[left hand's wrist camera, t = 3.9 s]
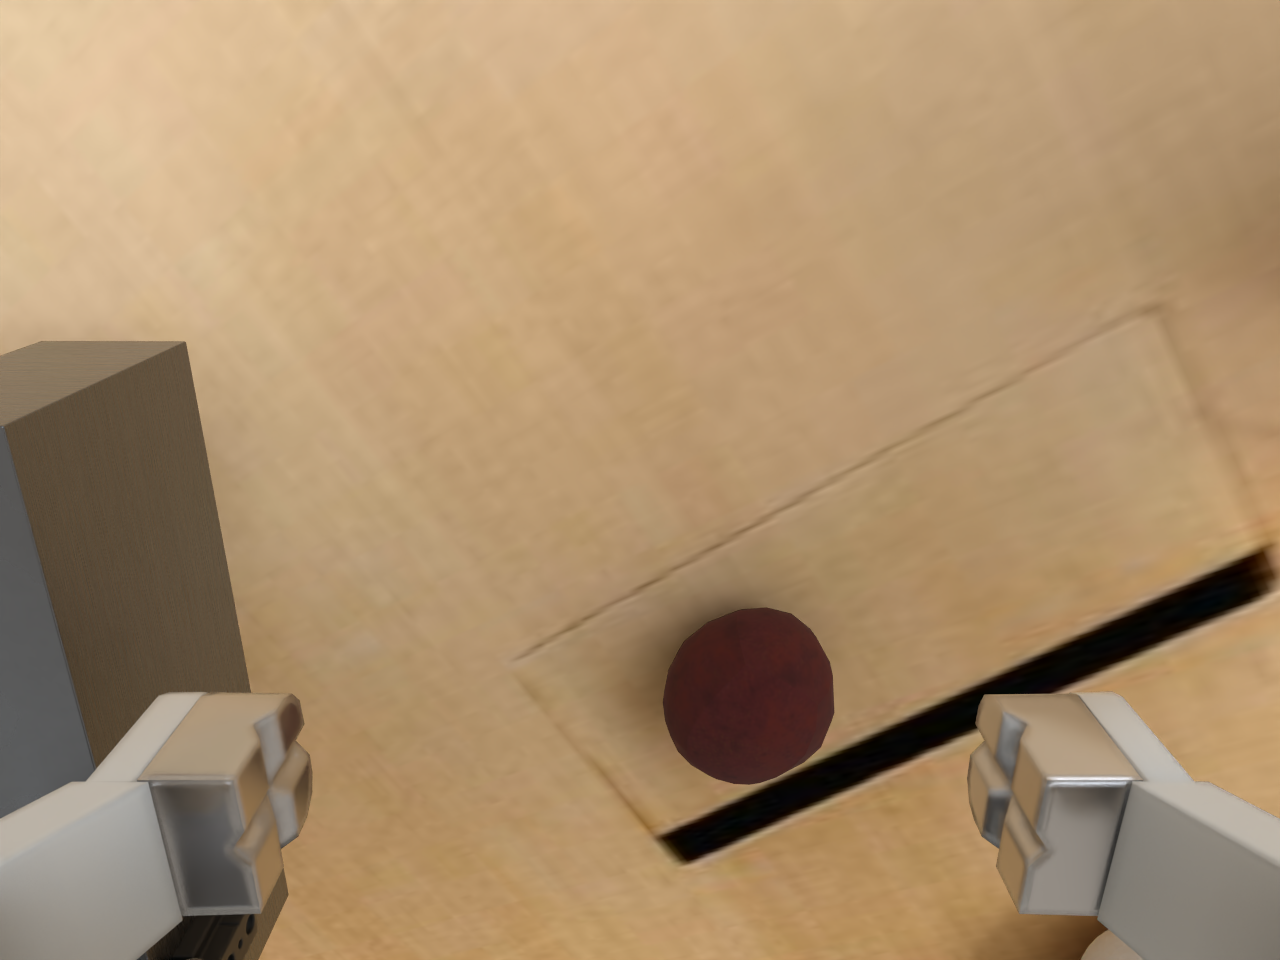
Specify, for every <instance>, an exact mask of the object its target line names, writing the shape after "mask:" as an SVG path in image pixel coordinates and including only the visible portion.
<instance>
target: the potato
mask: <svg viewBox="0 0 1280 960" xmlns="http://www.w3.org/2000/svg"><path fill="white" fill-rule="evenodd" d="M663 707H664V715H665V722H666V724H667V727H668V730H669V733H670V736H671V738H672V740H673V742H674V744H675V746H676V748H677V750H678V752H679V753H680V754H681V755H682V756H683V757H684V758H685V759H686V760H687V761H688V762H689V763H690V764H691V765H692V766H694V767H696V768H697V769H699V770H701V771H702V772H704V773H706V774H707V775H709V776H711V777H713V778H716V779H718V780H722V781H726V782H730V783H733V784H748V785H749V784H755V783H761V782H764V781H767V780H770V779H773V778H775V777H778V776H779V775H781V774H783V773H785V772H787V771H789V770H790V769H792V768H794V767H796V766H798V765H800V764H802V763H803V762H805V761H806V760H807V759H808V758H809V757H810V756H811V755H813V754H814V753H815V752H816V751H817V750H818V749H819V748H820V747H821V745H822V743H823V741H824V738H825V736H826V733H827V731H828V728H829V726H830V723H831V721H832V718H833V715H834V695H833V675H832V670H831V666H830V662H829V660H828V658H827V656H826V654H825V652H824V651H823V649H822V647H821V645H820V643H819V642H818V640H817V638H816V636H815V635H814V634H813V632H812V631H811V629H810V628H808V627H807V626H806V625H805V624H803V623H802V622H801V621H800V620H798V619H797V618H796V617H795V616H793V615H792V614H790V613H786V612H782V611H778V610H774V609H770V608H755V609H742V610H738V611H735V612H733V613H730V614H728V615H725V616H723V617H720V618H718V619H715V620H712V621H710V622H708V623H706V624H705V625H704V626H703V627H701V628H700V629H699V630H698V631H696V632H695V633H694V634H693V635H691V636H690V637H689V638H688V639H686V640H685V641H684V642H683V644H682V646H681V647H680V649H679V651H678V653H677V655H676V657H675V659H674V661H673V662H672V664H671V666H670V668H669V670H668V675H667V680H666V685H665V691H664V698H663Z"/></svg>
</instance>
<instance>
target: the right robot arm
mask: <svg viewBox="0 0 1280 960" xmlns="http://www.w3.org/2000/svg"><path fill="white" fill-rule="evenodd" d="M257 921H258V919H257V914H233V915H198V916H195V918H194V919H193V921H192V923H191V925H190V926H189V928H188V930H187V932H186V933H185V935H184V937H183V939H182V940H181V942H180V944H179V946H178V947H177V949H176V951H175V953H174V954H173V956H172V959H173V960H244V958H245V954H247V952H248V950H249V947H250V944H251V943H252V941H253V939H254V937H255V935H256V933H257Z"/></svg>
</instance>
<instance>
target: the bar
mask: <svg viewBox="0 0 1280 960" xmlns="http://www.w3.org/2000/svg"><path fill="white" fill-rule="evenodd" d="M168 692H207V693H210V692H230V693H251V690H250V685H249V679H248V674H247V669H246V663H245V658H244V652H243V647H242V642H241V636H240V631H239V626H238V620H237V615H236V609H235V604H234V599H233V593H232V588H231V582H230V577H229V572H228V566H227V561H226V556H225V550H224V545H223V539H222V534H221V529H220V523H219V518H218V512H217V507H216V502H215V496H214V491H213V486H212V480H211V475H210V469H209V464H208V459H207V453H206V448H205V443H204V437H203V432H202V426H201V421H200V416H199V410H198V405H197V399H196V394H195V389H194V383H193V378H192V373H191V367H190V362H189V356H188V351H187V346H186V342H181V341H41V342H38V343H35V344H32V345H30V346H27V347H24V348H21V349H18V350H15V351H13V352H10V353H7V354H4V355H1V356H0V819H1V818H2V817H4V816H6V815H8V814H10V813H12V812H14V811H16V810H18V809H20V808H22V807H24V806H26V805H28V804H30V803H31V802H33V801H35V800H37V799H39V798H41V797H43V796H45V795H47V794H49V793H51V792H53V791H55V790H57V789H59V788H60V787H62V786H64V785H66V784H68V783H70V782H85V781H86V780H87V779H88V778H89V777H90V776H91V774H92V773H93V772H94V771H95V770H96V769H97V767H98V766H99V765H100V764H101V763H102V761H103V760H104V759H105V758H106V757H107V756H108V754H109V753H110V752H111V751H112V750H113V748H114V747H115V746H116V745H117V744H118V743H119V741H120V740H121V739H122V738H123V737H124V735H125V734H126V733H127V732H128V731H129V730H130V728H131V727H132V726H133V725H134V724H135V723H136V721H137V720H138V719H139V718H140V717H141V715H142V714H143V713H144V712H145V711H146V710H147V708H148V707H149V706H150V705H151V704H152V702H153V701H154V700H155V699H156V698H157V697H158V696H159V695H162V694H165V693H168ZM287 897H288V889H287V884H286V878H285V873H284V868H283V869H282V871H281V873H280V875H279V878H278V880H277V882H276V884H275V886H274V888H273V890H272V892H271V894H270V896H269V898H268V900H267V902H266V904H265V906H264V908H263V911H262V913H261V914H257V919H258V921H257V933H256V935H255V937H254V939H253V941H252V943H251V944H250V947H249V950H248V952H247V954H245V958H244V960H258V959H259V957H260V955H261V953H262V951H263V948H264V946H265V944H266V942H267V940H268V938H269V936H270V933H271V931H272V929H273V927H274V925H275V923H276V920H277V918H278V916H279V914H280V912H281V910H282V907H283V905H284V903H285V901H286V899H287ZM182 918H183V920H182V921H181V922H180V923H179V924H178V925H176V926H175V927H174V928H173V929H172V930H171V931H169V932H168V933H167V934H166V935H165V936H164V937H162V938H161V939H160V940H159V941H158V942H157V943H155V944H154V945H153V946H152V947H151V948H150V949H148V950H147V951H146V952H145V953H144V954H143V955H141V956H140V957H139V958H138V959H137V960H173V959H172V956H173V954H174V953H175V951H176V949H177V947H178V946H179V944H180V942H181V940H182V939H183V937H184V935H185V933H186V932H187V930H188V928H189V926H190V925H191V923H192V921H193V919H194V918H195V916H182Z"/></svg>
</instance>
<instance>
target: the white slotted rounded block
mask: <svg viewBox="0 0 1280 960" xmlns="http://www.w3.org/2000/svg"><path fill="white" fill-rule="evenodd" d="M1081 960H1144V959H1142V958H1141V957H1140V956H1139V955H1138V954H1137V953H1135V952H1134V951H1133V950H1132V949H1131V948H1130V947H1128V946H1127V945H1126V944H1125V943H1124V942H1123V941H1121V940H1120V939H1119V938H1118V937H1117V936H1116V935H1114V934H1113V933H1112V932H1111V931H1110V930H1107V931H1105V932H1103V933H1102V934H1101V935H1099V936H1098V937H1097V938H1096V939H1095V940H1094V941H1093V942H1092V943H1091V944H1090V945H1089V946H1088V948H1087V949H1086V951H1085V953H1084V954H1083V956H1082V958H1081Z"/></svg>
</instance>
